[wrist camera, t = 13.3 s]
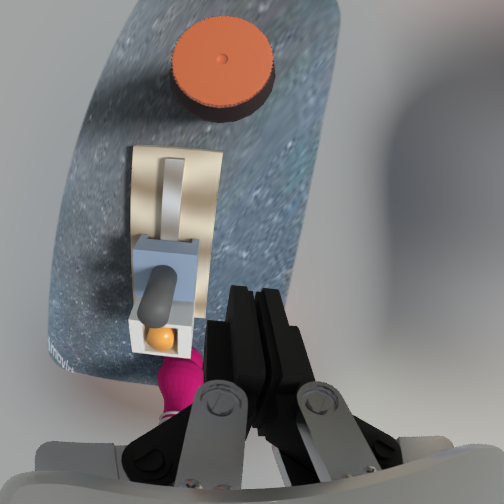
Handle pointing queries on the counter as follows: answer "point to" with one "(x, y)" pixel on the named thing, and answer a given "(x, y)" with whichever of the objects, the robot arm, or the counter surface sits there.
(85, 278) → the counter surface
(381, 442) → the robot arm
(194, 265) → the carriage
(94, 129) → the counter surface
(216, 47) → the vinegar
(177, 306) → the white box holder
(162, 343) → the plunger
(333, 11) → the counter surface
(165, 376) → the pepper mill
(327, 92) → the counter surface
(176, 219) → the rail base
